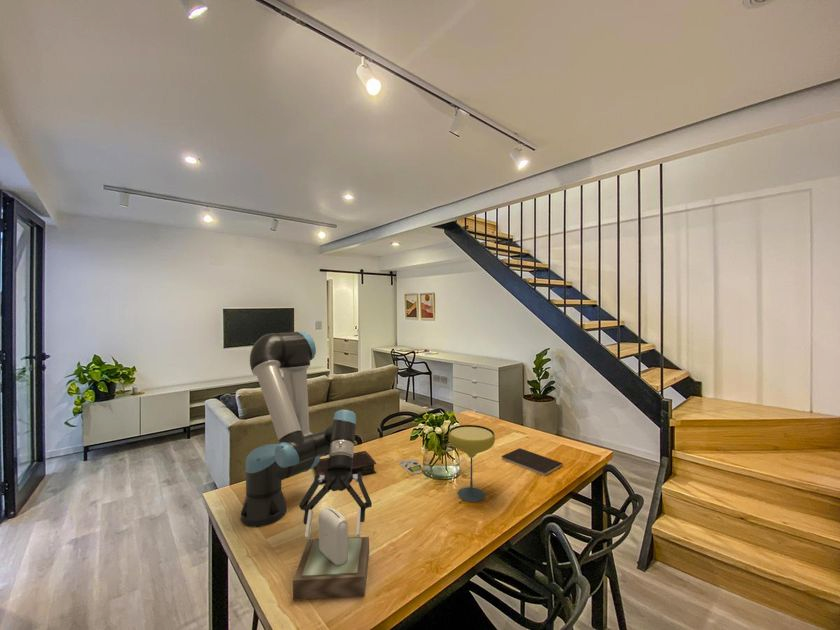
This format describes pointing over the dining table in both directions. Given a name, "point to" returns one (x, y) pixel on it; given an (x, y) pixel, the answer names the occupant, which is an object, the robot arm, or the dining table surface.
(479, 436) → the cocktail glass
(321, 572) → the block
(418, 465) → the handheld gaming device
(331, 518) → the photo printer
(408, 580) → the dining table surface
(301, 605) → the dining table surface
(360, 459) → the diary
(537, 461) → the hardcover book
